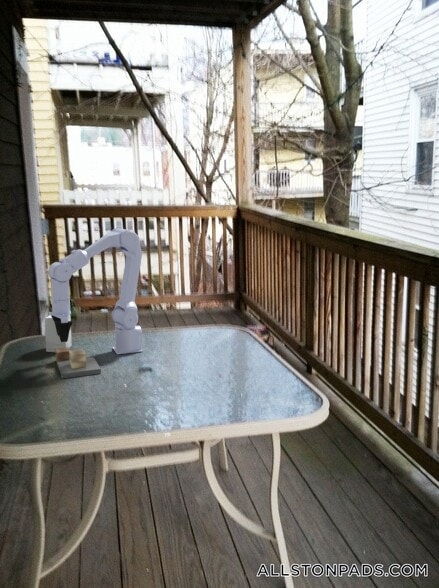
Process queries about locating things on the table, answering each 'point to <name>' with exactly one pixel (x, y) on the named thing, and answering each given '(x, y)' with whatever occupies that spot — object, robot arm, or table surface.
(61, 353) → the walnut block
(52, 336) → the supplement box
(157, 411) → the table surface
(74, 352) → the maple block
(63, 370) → the plate
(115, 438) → the table surface
